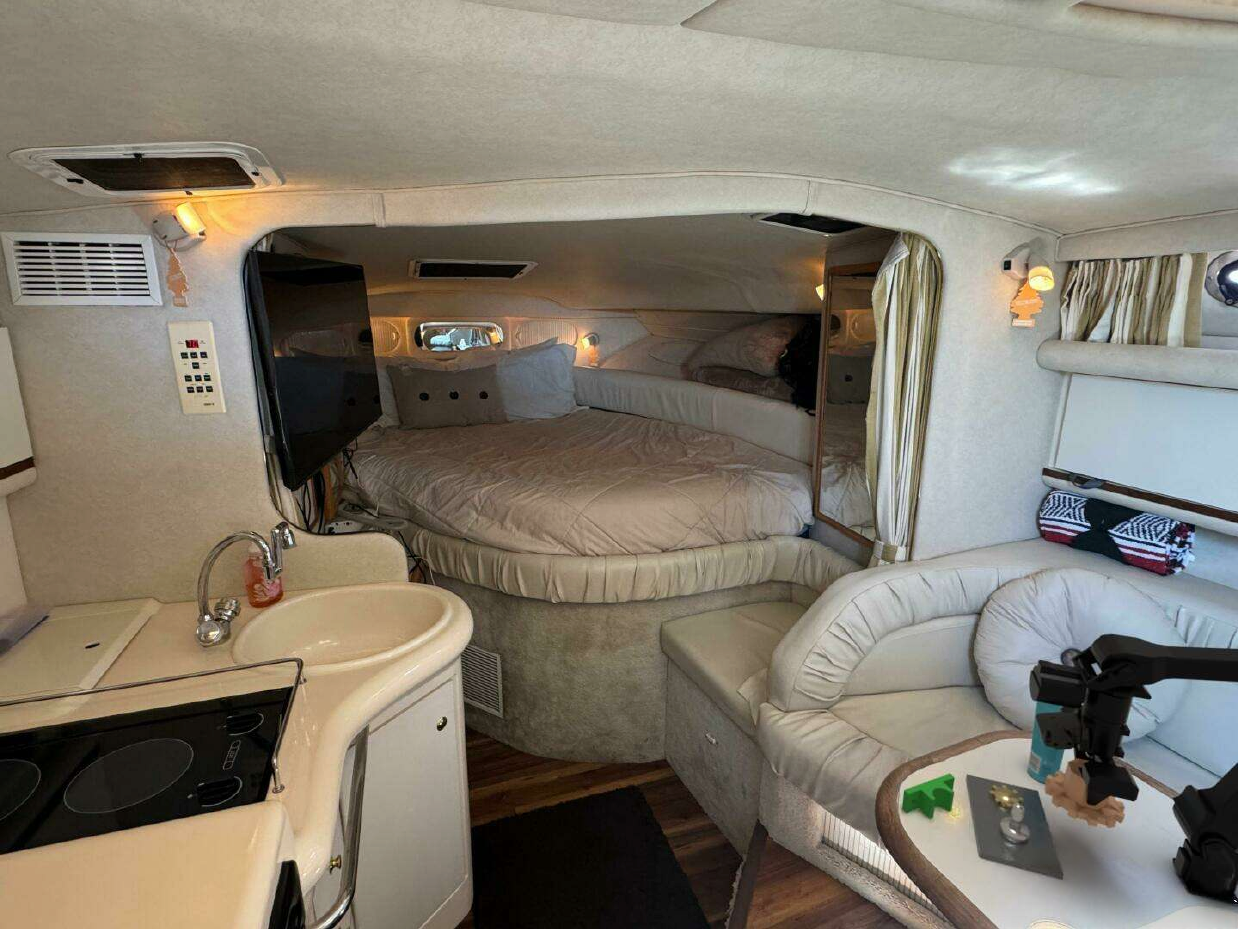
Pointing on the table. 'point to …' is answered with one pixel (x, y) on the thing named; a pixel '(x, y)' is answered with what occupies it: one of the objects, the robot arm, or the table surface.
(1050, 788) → the planet gear
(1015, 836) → the carrier plate
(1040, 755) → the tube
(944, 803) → the pipe clamp
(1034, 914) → the table surface
